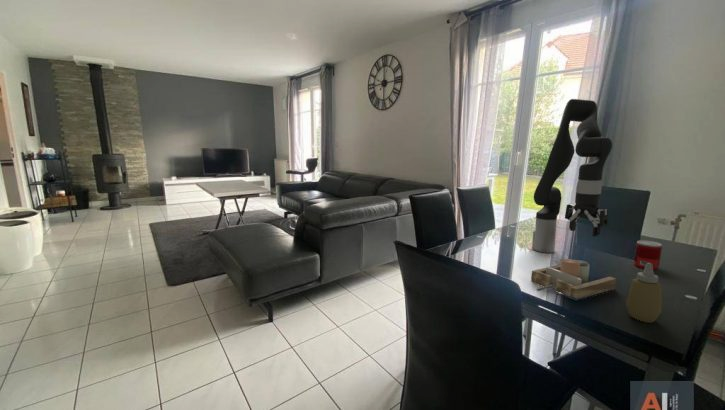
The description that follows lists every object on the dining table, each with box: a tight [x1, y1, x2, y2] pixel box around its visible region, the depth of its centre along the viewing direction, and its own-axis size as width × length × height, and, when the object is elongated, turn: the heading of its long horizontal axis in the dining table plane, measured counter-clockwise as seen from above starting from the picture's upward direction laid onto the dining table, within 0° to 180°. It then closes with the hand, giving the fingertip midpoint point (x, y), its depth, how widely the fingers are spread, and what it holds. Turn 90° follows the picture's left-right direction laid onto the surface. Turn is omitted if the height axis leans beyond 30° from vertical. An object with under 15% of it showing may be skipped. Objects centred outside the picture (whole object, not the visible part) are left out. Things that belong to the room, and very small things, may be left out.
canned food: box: [633, 239, 663, 271], centre depth 130 cm, size 8×8×11 cm
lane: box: [530, 263, 617, 299], centre depth 116 cm, size 18×21×5 cm
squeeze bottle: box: [625, 263, 663, 323], centre depth 92 cm, size 8×8×18 cm
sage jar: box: [575, 259, 591, 284], centre depth 117 cm, size 6×6×9 cm
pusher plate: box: [536, 266, 582, 292], centre depth 112 cm, size 13×13×6 cm
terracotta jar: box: [560, 258, 580, 278], centre depth 115 cm, size 6×6×10 cm
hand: (583, 233), depth 115 cm, fingers open, 8 cm apart
